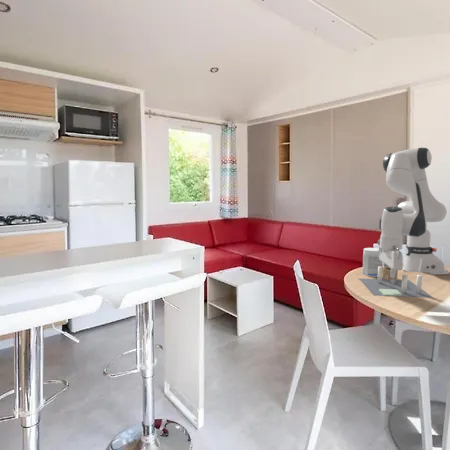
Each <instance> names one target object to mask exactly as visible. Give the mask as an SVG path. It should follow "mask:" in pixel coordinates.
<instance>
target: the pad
mask: <svg viewBox="0 0 450 450" xmlns="http://www.w3.org/2000/svg"><path fill="white" fill-rule="evenodd" d="M379 291H380V292H381V293H382V294H383V295H384V296H383V297H399V296H403V295H402V294H401V293H400V292H399V291H398V290H396V289H379Z"/></svg>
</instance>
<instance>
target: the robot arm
mask: <svg viewBox="0 0 450 450" xmlns="http://www.w3.org/2000/svg"><path fill="white" fill-rule="evenodd" d="M432 158H433V157H432V153H431V151H430V149H428V148H427V147H418V148H409V149H404V150H400V151H396V152H394V153H393V152H392V153H388V154H386V155H384V157H383V160H382V168H383V169H384V172H385V174H386V175H385V185H386V186H387V188H388V189H390V190H391V191H392V192H393V193H397V194H400V195H403V196H405V197H407V198H409V200H406V201H401V202H400V203H399V204H398V205H397V206H386V207H385V208H383V211H382V215H381V217H380V218H379V223H378V224H379V225H378V226H379V227H378V229H379V230H380V231H381V234H380V237H379V239H378V240H377V245H378V248H379V260H381V261H382V262H383V268H384V267H390V270H391V271H390V275H389V276H390V277H391V278H394V277H395V273H396V271H397V270H398V271H402V270H403V271H405V272H410V273H411V272H412V273H413V272H414V273H415V272H416V273H421V274H425V273H427V274H430V275H432V276H433V275H435V276H436V275H449V274H450V271H449V270H448V269H446V268H445V262H444V261H443V260H442V259H441V258H440V257H438V256H437V255H435V254H434V253H436V252H437V251H438V249H437V248H435V247H432V246H431V232H430V231H429V229H427V228H428V223H437V222H442V221H443V220H445V218H446V216H447V207H446V206H445V205H444V204H443V203H442V202H440V201H438V199H437V198H436V197H435V196H434V195H433V194H432V192H431V190H430V187H429V183H428V179H427V172H426V169H427V168H428V167H429V166H430V165H431V164H432ZM404 236H406V245H405V250H404V251H405V253H404V254H405V258H404V257H403V253H402V251H401V250H402V249H403V239H404ZM403 259H404V261H403ZM403 262H404V263H403Z"/></svg>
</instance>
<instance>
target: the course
mask: <svg viewBox="0 0 450 450" xmlns="http://www.w3.org/2000/svg"><path fill="white" fill-rule="evenodd" d="M381 268H384V266H383V267H381V266H379V267H378V277H377V278H359V277H358V281H359V280H360V282H361V283H362V285H363V286H364V287H365V288H367V290H368V291H369V293H371V294H372V295H373V296H374V297H375V296H376V297H385V296H384V295H383V294H382V293H381V292H380V291H379V289H396V290H398V291H399V292H400V293H401V294H402V295H403V296H398V297H399V298H400V297H405V298H427V299H428V298H429V299H431V298H432V299H433V298H434V296H432V295H431V294H429V293H427V292H426V291H425V290H423V288H422V287H423V286H422V285H423V275H421V274H417V275H416V284H415V283H414V282H412V281H411V280H410V279H408V274H402V277H401V279H396V280H387V279H383V278H382V277H381Z"/></svg>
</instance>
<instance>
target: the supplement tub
mask: <svg viewBox="0 0 450 450" xmlns="http://www.w3.org/2000/svg"><path fill="white" fill-rule="evenodd" d="M379 266H381V267H383V268H384V266H383V262H382V261H381V260H379V247H377V248H376V247H365V248H363V254H362V275H364V276H366V277H367V276H368V277H373V278H378V267H379Z"/></svg>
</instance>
